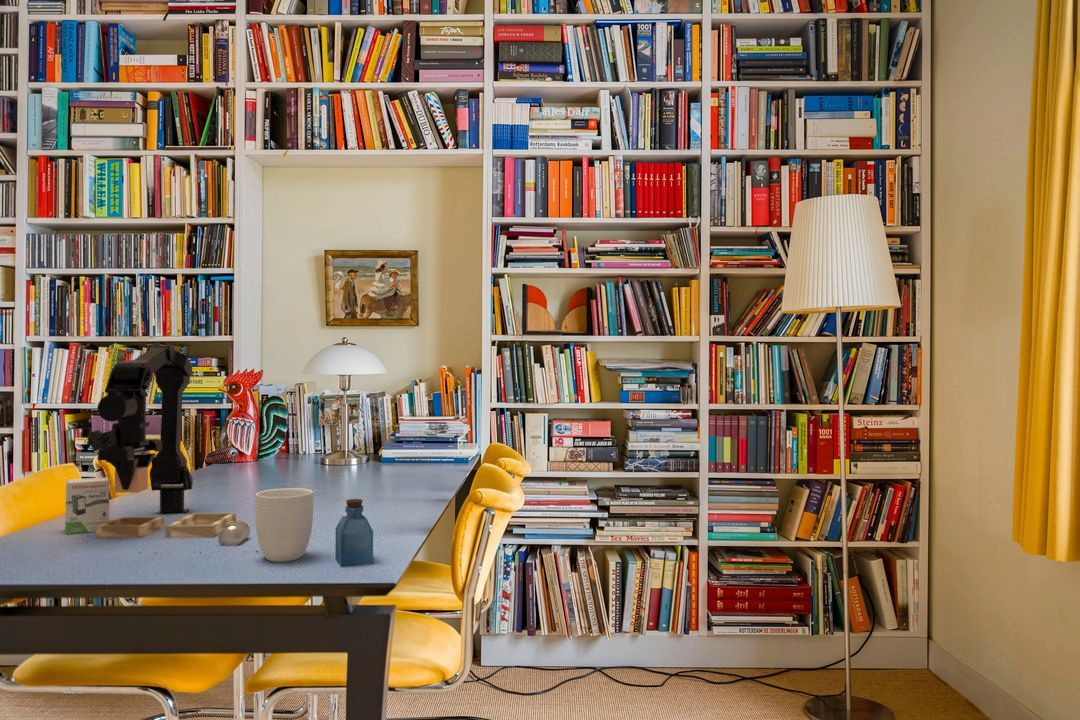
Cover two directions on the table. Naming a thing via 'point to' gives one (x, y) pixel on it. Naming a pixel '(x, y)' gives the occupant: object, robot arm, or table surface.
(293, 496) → the mug
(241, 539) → the grey rounded piece
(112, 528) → the oak box
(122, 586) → the table surface
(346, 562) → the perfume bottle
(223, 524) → the birch box
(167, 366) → the robot arm
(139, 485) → the cube
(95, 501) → the ink box
